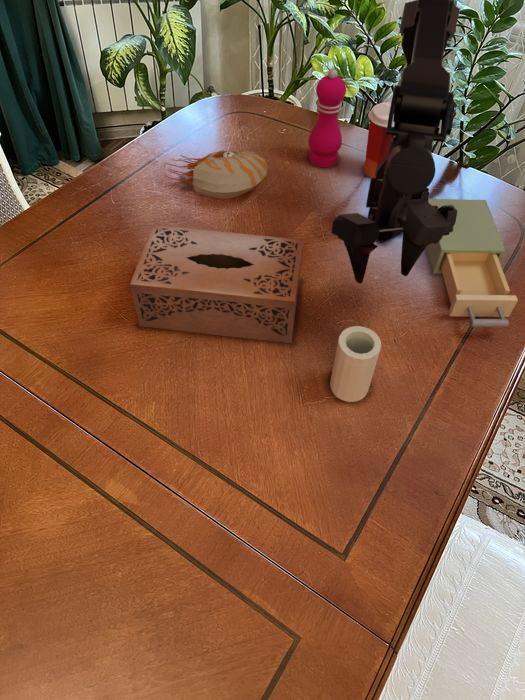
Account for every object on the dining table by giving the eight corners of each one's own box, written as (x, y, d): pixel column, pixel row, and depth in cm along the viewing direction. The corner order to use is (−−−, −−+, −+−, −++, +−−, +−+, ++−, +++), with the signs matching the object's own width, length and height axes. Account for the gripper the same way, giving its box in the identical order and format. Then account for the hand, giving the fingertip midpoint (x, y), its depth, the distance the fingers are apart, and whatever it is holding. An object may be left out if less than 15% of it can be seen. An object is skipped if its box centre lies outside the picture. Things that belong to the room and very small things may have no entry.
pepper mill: (337, 170, 125) (349, 80, 109) (304, 166, 126) (312, 76, 110) (341, 152, 129) (353, 62, 113) (309, 148, 130) (317, 58, 114)
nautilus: (155, 199, 118) (183, 162, 128) (254, 215, 114) (275, 175, 123) (148, 164, 112) (178, 128, 122) (252, 180, 108) (275, 141, 117)
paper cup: (397, 165, 127) (411, 105, 115) (390, 185, 122) (405, 124, 111) (363, 158, 128) (373, 97, 117) (355, 177, 123) (365, 116, 112)
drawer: (515, 336, 96) (525, 319, 92) (455, 335, 96) (462, 318, 92) (489, 262, 107) (497, 245, 103) (435, 262, 106) (441, 245, 103)
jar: (322, 381, 90) (330, 337, 82) (351, 364, 92) (361, 319, 84) (346, 408, 87) (357, 365, 79) (376, 390, 89) (389, 346, 81)
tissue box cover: (299, 281, 104) (303, 239, 96) (291, 343, 95) (295, 302, 87) (160, 267, 105) (152, 224, 98) (139, 326, 97) (129, 284, 89)
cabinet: (494, 274, 106) (505, 250, 101) (433, 273, 106) (441, 249, 101) (476, 223, 115) (485, 199, 110) (419, 223, 115) (427, 198, 110)
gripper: (392, 196, 70) (368, 310, 78) (493, 189, 79) (462, 292, 87) (338, 173, 78) (321, 278, 86) (436, 169, 87) (412, 264, 95)
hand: (381, 278), depth 88 cm, fingers open, 9 cm apart
